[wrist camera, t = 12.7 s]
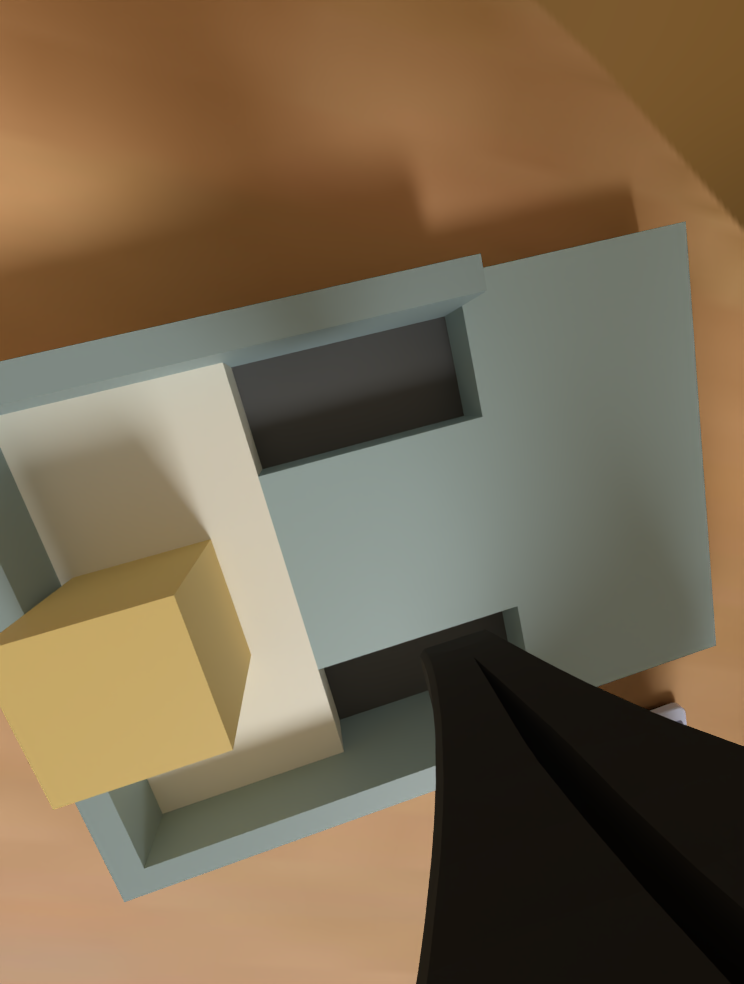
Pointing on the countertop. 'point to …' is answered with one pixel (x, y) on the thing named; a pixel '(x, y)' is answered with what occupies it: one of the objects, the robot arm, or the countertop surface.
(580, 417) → the trap tray
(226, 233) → the countertop surface
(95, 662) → the ochre block
